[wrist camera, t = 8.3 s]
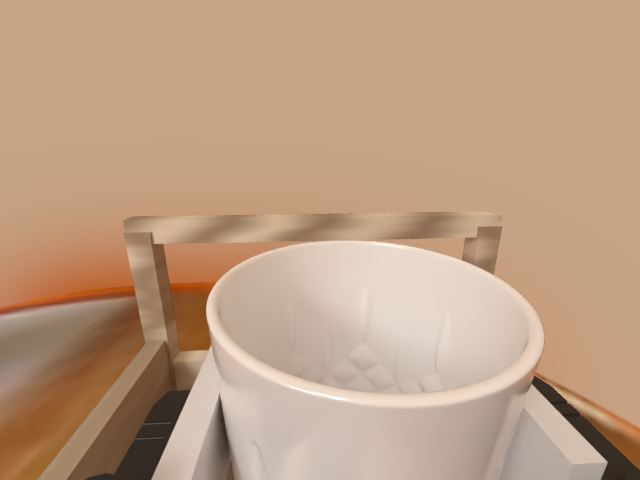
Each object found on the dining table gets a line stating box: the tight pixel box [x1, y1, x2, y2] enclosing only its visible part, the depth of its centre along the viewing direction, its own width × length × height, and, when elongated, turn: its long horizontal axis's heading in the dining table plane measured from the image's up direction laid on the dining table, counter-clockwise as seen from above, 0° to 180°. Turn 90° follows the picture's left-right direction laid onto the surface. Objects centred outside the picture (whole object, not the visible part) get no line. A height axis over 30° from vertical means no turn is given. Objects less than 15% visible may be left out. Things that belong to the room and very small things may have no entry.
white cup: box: [206, 240, 545, 480], centre depth 9 cm, size 8×8×10 cm
